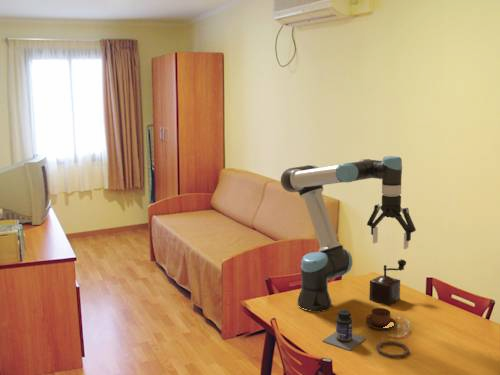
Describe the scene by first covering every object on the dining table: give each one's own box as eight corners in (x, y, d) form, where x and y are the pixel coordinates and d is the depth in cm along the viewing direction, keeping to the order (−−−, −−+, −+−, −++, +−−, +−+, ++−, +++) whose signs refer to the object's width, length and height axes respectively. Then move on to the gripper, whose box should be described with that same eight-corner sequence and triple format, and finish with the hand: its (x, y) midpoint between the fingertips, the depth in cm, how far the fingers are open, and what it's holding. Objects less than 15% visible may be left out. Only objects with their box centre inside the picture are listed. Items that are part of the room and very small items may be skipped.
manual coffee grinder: (390, 306, 224) (391, 267, 221) (368, 300, 232) (369, 262, 229) (407, 296, 235) (408, 259, 232) (385, 290, 242) (386, 254, 239)
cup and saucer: (379, 334, 197) (379, 320, 196) (359, 323, 208) (359, 309, 207) (402, 328, 203) (402, 313, 202) (381, 317, 213) (382, 303, 212)
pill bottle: (352, 343, 190) (352, 315, 188) (335, 342, 191) (335, 314, 189) (352, 336, 196) (352, 309, 194) (336, 334, 197) (336, 308, 195)
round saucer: (371, 351, 184) (371, 349, 184) (385, 340, 192) (385, 338, 192) (400, 361, 177) (400, 358, 176) (413, 349, 185) (413, 347, 185)
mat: (322, 341, 193) (322, 340, 193) (339, 330, 201) (339, 329, 201) (349, 351, 185) (349, 350, 185) (365, 339, 194) (365, 338, 194)
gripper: (425, 196, 198) (423, 248, 201) (368, 190, 214) (367, 238, 218) (417, 199, 192) (415, 253, 196) (359, 193, 208) (358, 242, 212)
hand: (390, 245), depth 207 cm, fingers open, 13 cm apart
